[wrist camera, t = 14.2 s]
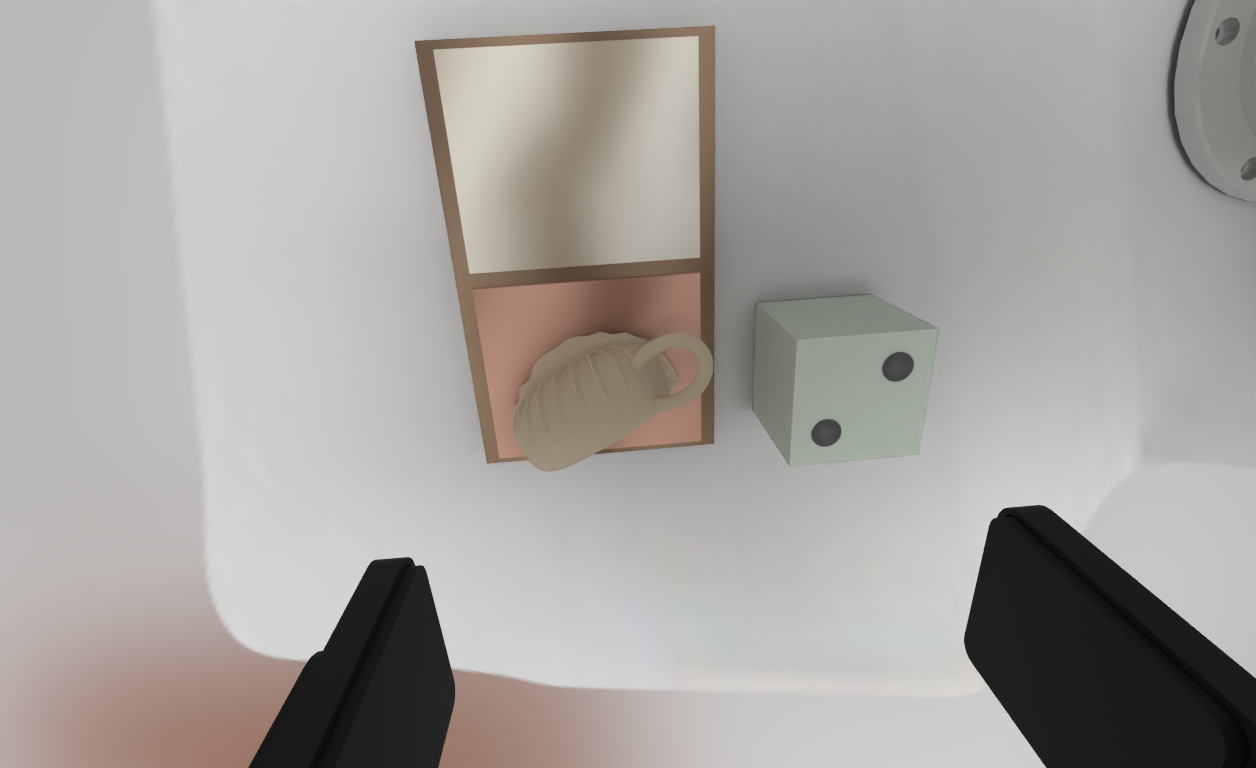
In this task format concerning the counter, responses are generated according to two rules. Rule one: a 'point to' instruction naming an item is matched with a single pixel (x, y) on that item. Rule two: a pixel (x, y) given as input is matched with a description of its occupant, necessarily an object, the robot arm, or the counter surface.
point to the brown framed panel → (577, 205)
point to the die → (841, 378)
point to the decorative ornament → (600, 393)
